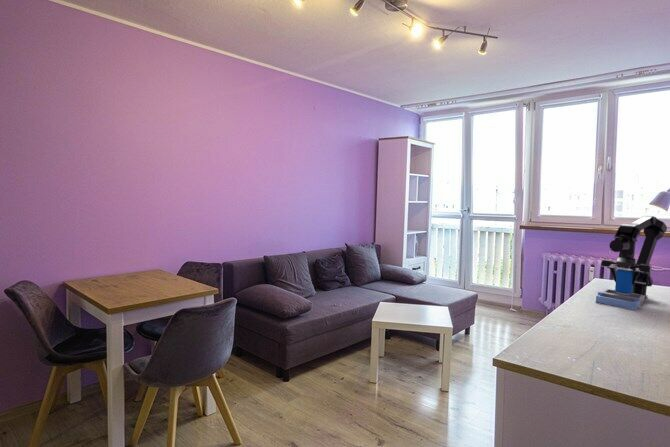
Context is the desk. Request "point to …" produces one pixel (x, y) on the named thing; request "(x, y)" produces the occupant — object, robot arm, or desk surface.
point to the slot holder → (620, 299)
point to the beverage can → (624, 281)
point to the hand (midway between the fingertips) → (624, 283)
